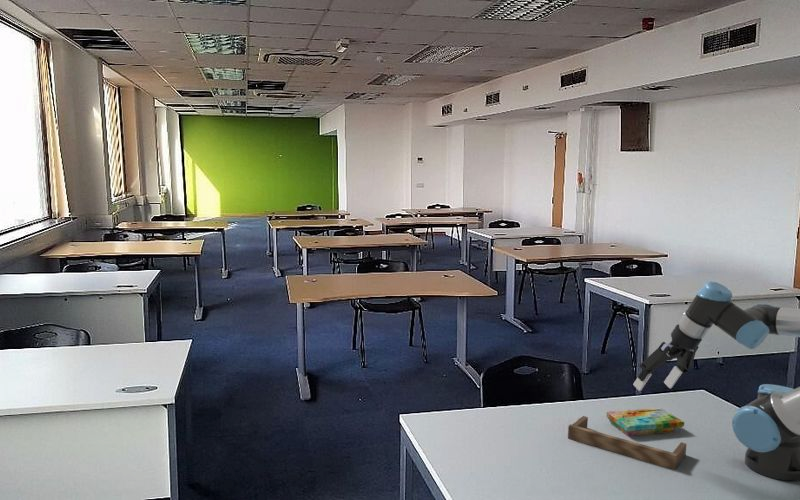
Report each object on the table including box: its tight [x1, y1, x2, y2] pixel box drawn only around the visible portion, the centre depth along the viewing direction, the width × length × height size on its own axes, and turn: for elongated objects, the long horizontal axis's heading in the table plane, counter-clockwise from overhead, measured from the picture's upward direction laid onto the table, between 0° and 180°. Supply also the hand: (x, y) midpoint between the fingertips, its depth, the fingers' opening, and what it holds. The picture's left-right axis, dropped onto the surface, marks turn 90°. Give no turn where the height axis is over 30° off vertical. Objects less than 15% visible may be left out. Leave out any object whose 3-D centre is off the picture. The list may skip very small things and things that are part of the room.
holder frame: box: [567, 415, 688, 471], centre depth 186 cm, size 31×12×4 cm, turn 52°
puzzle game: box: [606, 407, 685, 437], centre depth 200 cm, size 12×5×20 cm
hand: (652, 386), depth 186 cm, fingers open, 13 cm apart
